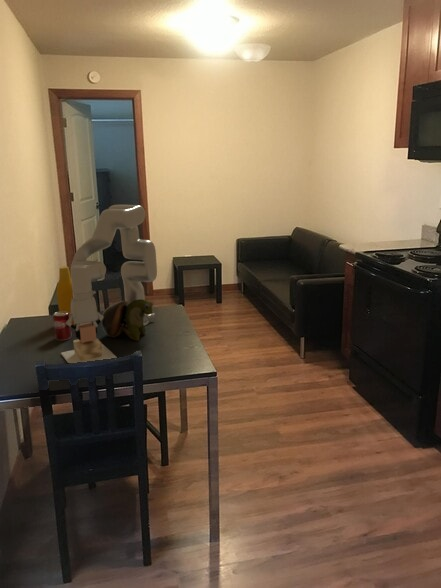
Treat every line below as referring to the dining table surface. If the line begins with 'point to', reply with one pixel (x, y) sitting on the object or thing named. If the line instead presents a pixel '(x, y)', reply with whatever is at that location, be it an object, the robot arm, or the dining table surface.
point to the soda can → (62, 325)
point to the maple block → (87, 349)
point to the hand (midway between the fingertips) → (86, 336)
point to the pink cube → (87, 332)
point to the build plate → (72, 358)
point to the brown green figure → (126, 318)
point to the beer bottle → (64, 291)
